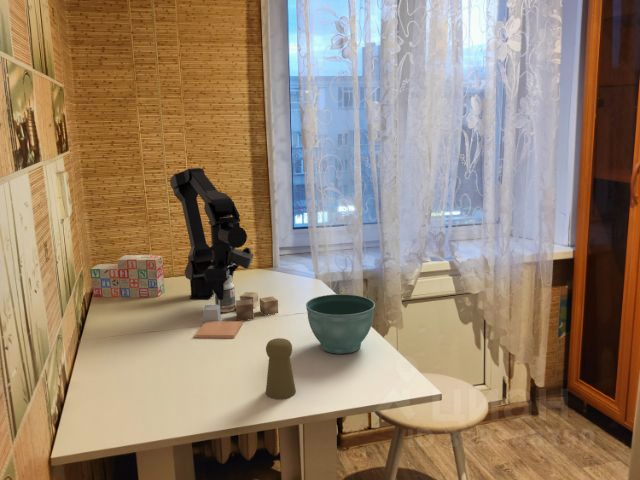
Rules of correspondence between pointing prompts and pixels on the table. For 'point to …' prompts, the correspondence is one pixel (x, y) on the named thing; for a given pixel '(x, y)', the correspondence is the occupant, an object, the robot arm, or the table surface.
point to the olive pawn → (279, 369)
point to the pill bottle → (227, 297)
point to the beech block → (250, 296)
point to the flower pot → (340, 321)
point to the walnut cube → (244, 309)
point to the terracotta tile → (219, 329)
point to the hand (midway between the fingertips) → (224, 294)
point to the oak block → (268, 305)
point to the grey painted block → (211, 313)
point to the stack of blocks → (129, 277)
